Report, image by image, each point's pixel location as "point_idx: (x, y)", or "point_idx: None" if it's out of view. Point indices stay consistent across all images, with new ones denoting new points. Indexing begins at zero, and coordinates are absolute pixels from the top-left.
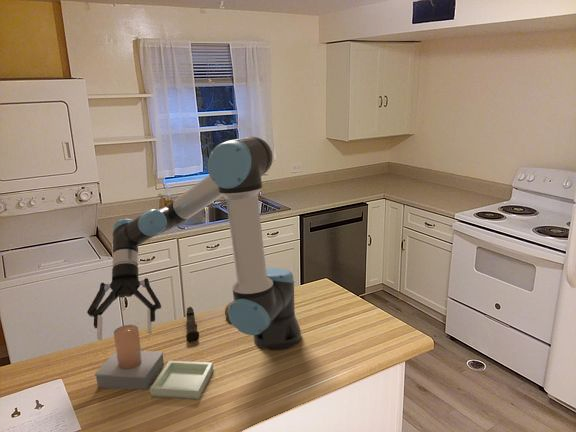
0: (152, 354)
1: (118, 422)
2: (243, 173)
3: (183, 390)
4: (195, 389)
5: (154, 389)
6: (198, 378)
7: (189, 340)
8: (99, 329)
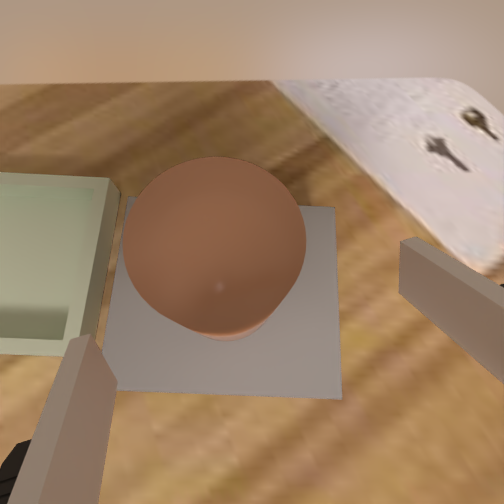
0: (145, 361)
1: (180, 96)
2: None
3: None
4: None
5: (95, 178)
6: None
7: None
8: (442, 265)
